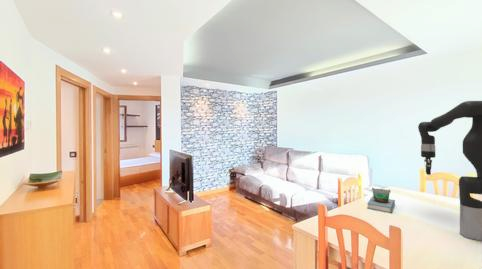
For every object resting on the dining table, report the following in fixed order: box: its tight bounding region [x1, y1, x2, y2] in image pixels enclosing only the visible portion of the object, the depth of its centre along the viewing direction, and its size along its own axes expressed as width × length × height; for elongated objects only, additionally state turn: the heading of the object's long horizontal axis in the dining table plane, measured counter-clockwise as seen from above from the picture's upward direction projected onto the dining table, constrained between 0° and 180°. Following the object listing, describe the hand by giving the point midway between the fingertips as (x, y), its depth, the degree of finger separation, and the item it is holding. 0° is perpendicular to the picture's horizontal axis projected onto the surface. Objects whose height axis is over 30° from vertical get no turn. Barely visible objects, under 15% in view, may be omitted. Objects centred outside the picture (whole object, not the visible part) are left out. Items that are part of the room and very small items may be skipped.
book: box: [367, 196, 396, 214], centre depth 162 cm, size 20×15×4 cm
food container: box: [371, 187, 392, 203], centre depth 161 cm, size 12×6×10 cm, turn 61°
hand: (428, 173), depth 147 cm, fingers open, 8 cm apart
